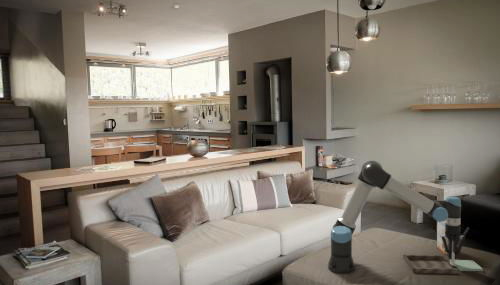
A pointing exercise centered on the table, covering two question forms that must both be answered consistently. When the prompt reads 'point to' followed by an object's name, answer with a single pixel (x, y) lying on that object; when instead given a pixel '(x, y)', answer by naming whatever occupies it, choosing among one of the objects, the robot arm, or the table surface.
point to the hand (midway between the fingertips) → (452, 264)
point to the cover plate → (467, 265)
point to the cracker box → (441, 231)
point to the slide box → (429, 264)
